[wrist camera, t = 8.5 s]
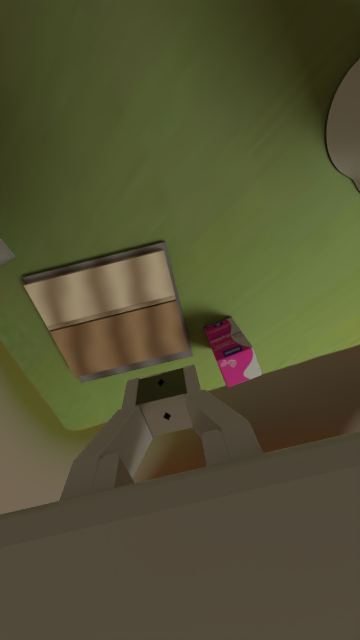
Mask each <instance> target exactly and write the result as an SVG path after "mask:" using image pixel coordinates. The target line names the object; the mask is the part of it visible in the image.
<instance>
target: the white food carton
mask: <svg viewBox="0 0 360 640" xmlns="http://www.w3.org/2000/svg"><path fill="white" fill-rule="evenodd" d="M15 257H16V256H15V255H14V254H13V253H12V251H11V250H10V249H9V248H8V246H7V245H6V244H5V243H4V241H3V240H2V239H1V238H0V265H2V264H4V263H6V262H7V261H9V260H11V259H13V258H15Z"/></svg>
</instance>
